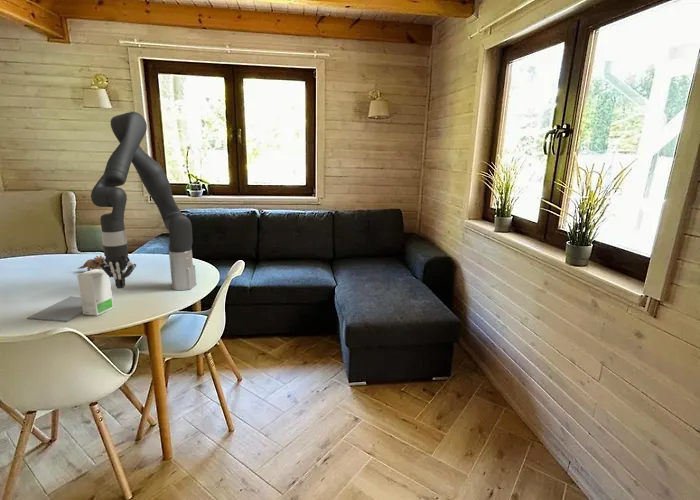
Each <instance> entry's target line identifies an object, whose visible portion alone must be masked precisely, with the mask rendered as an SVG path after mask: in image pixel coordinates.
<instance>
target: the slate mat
mask: <svg viewBox="0 0 700 500" xmlns="http://www.w3.org/2000/svg"><path fill="white" fill-rule="evenodd" d="M81 314H83V308H82V301H81V296H69V297H66V298H64V299H62V300H61V301H58V302H56V303H54V304H52V305H50V306H48V307H45V308H43V309H41V310H40V311H37V312H35V313H34V314H32V315H28V316H27V317H26V319H27V320H38V321H40V320H41V321H54V322H64V323H65V322H69V321H71V320H73V319H74V318H77V316H80V315H81Z"/></svg>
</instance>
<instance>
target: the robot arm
mask: <svg viewBox="0 0 700 500" xmlns="http://www.w3.org/2000/svg"><path fill="white" fill-rule="evenodd" d="M147 125H148V124H147V121H146V119H145V117H144V116H143V115H142V114H140V113H139V112H137V111H129V112H125V113H122V114H118V115H115V116H112V118H111V119H110V128H111V131H112V133H113V134H114V137H115V138H116V139H117V141H118V143H119V144H118V145H117V147H116V148H115V149H114V150H113V152H112V153H111V154H110V156H109V158H108V160H107V162H106V165H105V168H104V171H103V174H102V176H101V177H99V179H98V181H97V182H96V183H95V185H94V186H93V188H92V190H91V191H90V192H91V193H90V199H91V202H92V204H93V205H94V206H97V207H99V208H112V210H111V212H109V213H103V214H102V215H101V216H100V219H99V220H100V227H101V241H102V247H103V255H104V256H103V257H104V258H105V262H103V263H102V264H100V267H101V269H103V270H104V271H105V273H106V274H107V275H108V276H109V277H110V278H113V279H114V283H115V287H116V288H117V289H120V290H121V289H124V288H125V286H126V278H128V277H130V275H131V274H132V273H133V271H134V270H135V268H136V267H137V264H136V263H132V262H131V261H130V260H131V259H130V258H129V248H128V247H129V246H128V239H127V234H126V229H125V221H124V216H125V210H126V206H127V201H128V200H127V199H128V198H127V197H128V196H127V193H126V191H125V190H124V189H123V188H121V187H122V186H123V185H125V183H126V182H127V179H128V175H129V171H130V167H131V164H132V165H133V167H134V168H135V170H136V172H137V174H138V177H139V179H140V180H141V182H142V185H143V186H144V187H145V189H146V191H147V193H148V194H149V196H150V198H151V200H152V201H153V202H154V204H155V205H156V207H157V209H158V211H159V214H160V217H161V218H162V221H163V223H164V227H165V228H166V231H168V233H169V235H168V237H169V244H168V254H169V255H168V256H169V267H170V275H171V276H170V279H171V286H172V287H171V289H173V290H175V291H185V290H186V291H187V290H192V289H193V288H194V287H196V286H197V276H196V275H197V274H196V265H194V263H193V260H194V259H193V248H192V247H193V246H192V245H193V226H192V222H191V219H190V218H189V217H187V215H185V214H183V213H182V211H181V210H180V208H179V206H178V205H177V203H176V201H175V199H174V196H173V191H172V187H171V183H170V181H169V179H168V176H167V175H166V173H165V170H164V168H163V167H162V166H161V165H160V163H158V162H157V160H155V159H154V158H152V157H151V156H150V155H149V154H148V153H147V152H146V151H144V149H143V148H142V147H141V143H142V141H143V139H144V138H145V135H146V134H147V128H148V126H147ZM120 186H121V187H120Z"/></svg>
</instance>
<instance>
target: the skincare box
mask: <svg viewBox="0 0 700 500" xmlns="http://www.w3.org/2000/svg"><path fill="white" fill-rule="evenodd" d="M101 269H102V268H101ZM101 269H94V270H91V269H90V271H87V270H86V271H84V272H81V273H77V275H76V276H77V282H78V288H79V294H80V297H81V301H82V308H83V313H82V315H87V316H88V315H89V316H96V317H98V316H99V315H102V314H104V313H106V312H109V311H110V310H112V309H114V300H113V293H112V286H111V280H110V279H111V277H109V276H108V275H107V274H106V273H105V271H104V270H101Z"/></svg>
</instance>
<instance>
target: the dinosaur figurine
mask: <svg viewBox="0 0 700 500" xmlns="http://www.w3.org/2000/svg"><path fill="white" fill-rule="evenodd" d="M105 258H106V257H105V256H102V255H100V256H98V255H95V257H93V259H87V260H86V261H85V262H84V264H83V265H82V266H78V268H77V270H79V269H80V270H81V269H85V268H86V269H87V270H86V271H90V270H94V269H101V270H103V269H102V268H101V267H100V264H102V263H103V262H105Z"/></svg>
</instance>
